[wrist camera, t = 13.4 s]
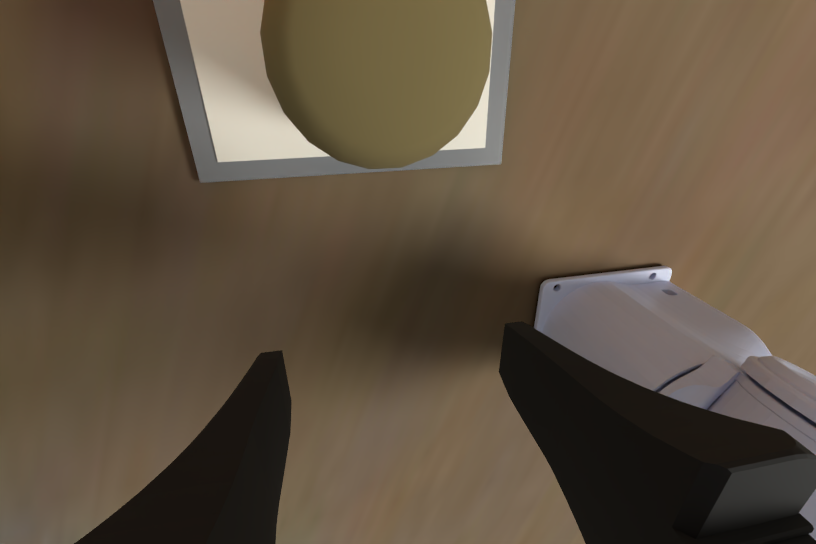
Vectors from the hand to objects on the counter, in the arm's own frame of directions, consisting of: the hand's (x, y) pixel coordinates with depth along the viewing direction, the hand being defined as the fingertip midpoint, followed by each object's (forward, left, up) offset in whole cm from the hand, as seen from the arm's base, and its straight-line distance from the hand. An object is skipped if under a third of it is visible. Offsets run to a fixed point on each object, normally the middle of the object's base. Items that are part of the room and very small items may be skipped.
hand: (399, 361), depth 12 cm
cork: (0, -9, -10) cm, 13 cm away
